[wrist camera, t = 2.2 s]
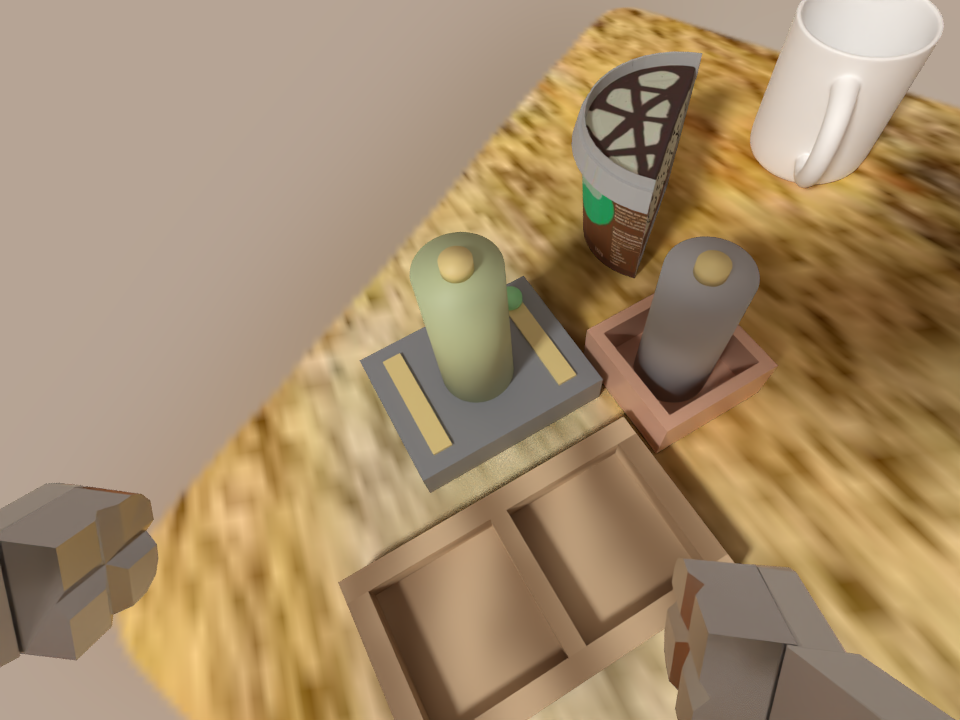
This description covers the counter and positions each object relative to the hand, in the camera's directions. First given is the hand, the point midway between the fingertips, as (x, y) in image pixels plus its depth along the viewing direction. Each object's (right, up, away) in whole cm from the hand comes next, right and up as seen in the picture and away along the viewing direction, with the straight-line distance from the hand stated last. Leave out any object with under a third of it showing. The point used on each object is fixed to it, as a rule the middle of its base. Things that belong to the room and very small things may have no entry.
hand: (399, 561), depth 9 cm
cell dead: (+13, +2, +27) cm, 31 cm away
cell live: (+1, +2, +27) cm, 27 cm away
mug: (+25, +18, +35) cm, 47 cm away
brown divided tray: (+4, -9, +23) cm, 25 cm away
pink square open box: (+13, +2, +28) cm, 31 cm away
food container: (+11, +13, +35) cm, 39 cm away
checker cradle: (+1, +1, +29) cm, 29 cm away
